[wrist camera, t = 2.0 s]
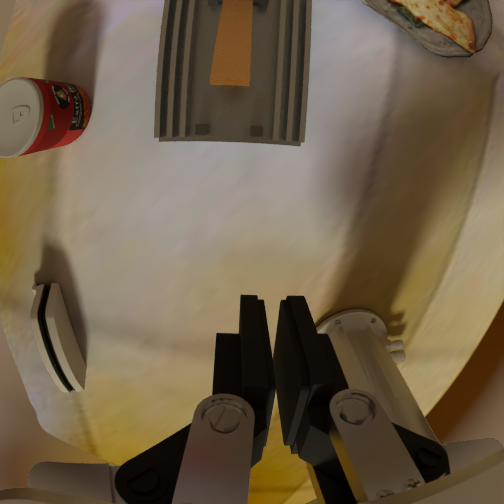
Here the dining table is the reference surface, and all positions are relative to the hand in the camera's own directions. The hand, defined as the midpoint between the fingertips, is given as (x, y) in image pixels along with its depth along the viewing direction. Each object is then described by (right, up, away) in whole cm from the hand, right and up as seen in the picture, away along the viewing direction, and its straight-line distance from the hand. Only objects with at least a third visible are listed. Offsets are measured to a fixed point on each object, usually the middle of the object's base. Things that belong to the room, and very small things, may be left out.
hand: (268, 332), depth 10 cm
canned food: (-23, +19, +18) cm, 35 cm away
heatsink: (-2, +22, +18) cm, 29 cm away
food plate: (+22, +39, +12) cm, 46 cm away
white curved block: (-29, -9, +30) cm, 43 cm away
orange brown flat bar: (-2, +21, +11) cm, 23 cm away
